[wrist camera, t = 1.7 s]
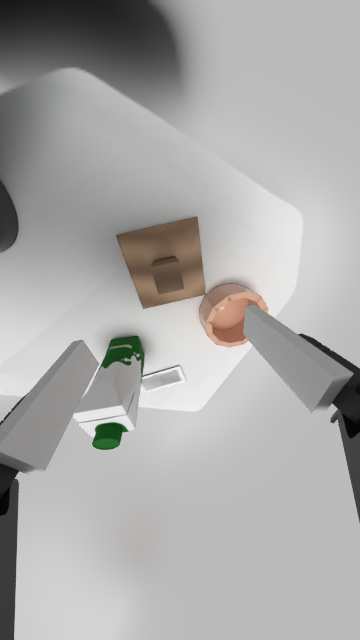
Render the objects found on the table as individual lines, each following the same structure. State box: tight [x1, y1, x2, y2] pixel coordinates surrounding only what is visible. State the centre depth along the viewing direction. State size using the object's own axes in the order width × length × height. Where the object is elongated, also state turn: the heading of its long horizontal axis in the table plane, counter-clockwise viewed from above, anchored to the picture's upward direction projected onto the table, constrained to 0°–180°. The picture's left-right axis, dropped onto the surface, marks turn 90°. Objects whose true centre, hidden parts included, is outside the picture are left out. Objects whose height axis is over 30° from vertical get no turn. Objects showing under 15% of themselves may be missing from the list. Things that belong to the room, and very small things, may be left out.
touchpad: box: [141, 366, 186, 393], centre depth 45 cm, size 8×15×2 cm, turn 106°
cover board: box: [116, 217, 206, 309], centre depth 24 cm, size 14×14×9 cm
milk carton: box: [73, 336, 144, 450], centre depth 29 cm, size 9×9×20 cm
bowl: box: [199, 283, 268, 347], centre depth 32 cm, size 13×13×6 cm
